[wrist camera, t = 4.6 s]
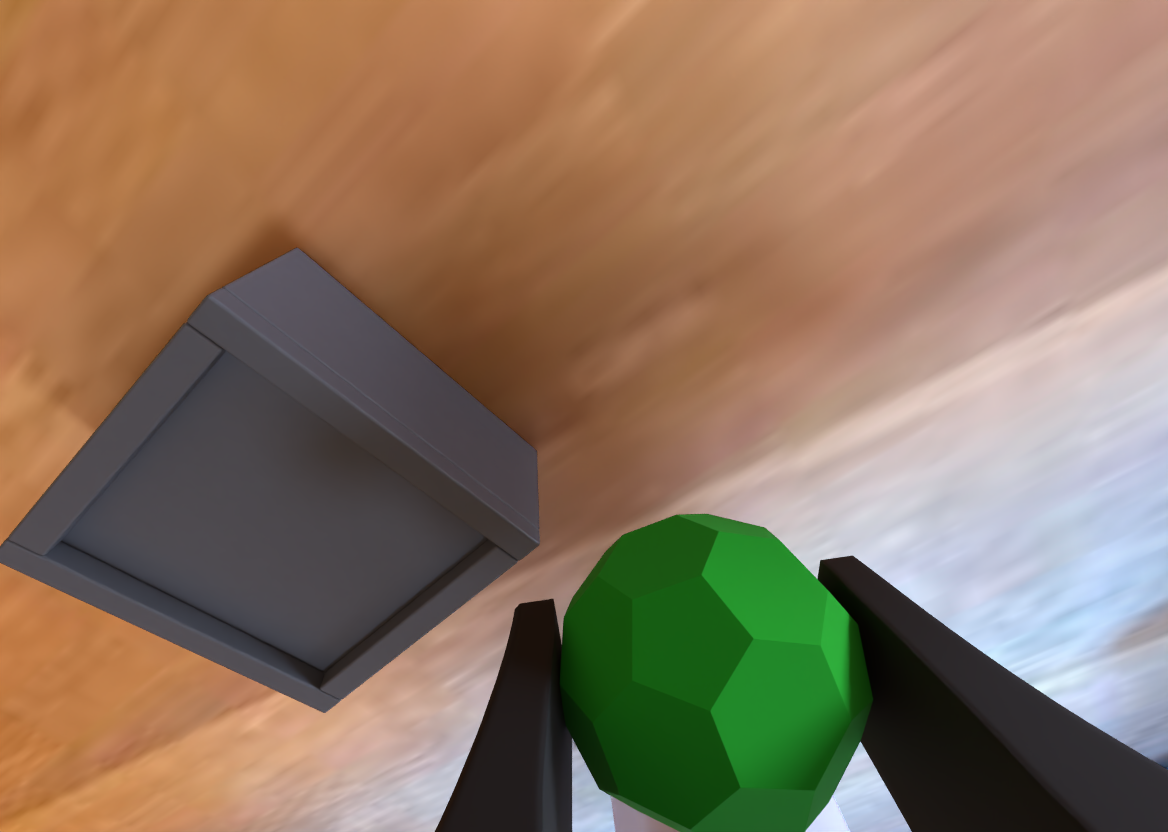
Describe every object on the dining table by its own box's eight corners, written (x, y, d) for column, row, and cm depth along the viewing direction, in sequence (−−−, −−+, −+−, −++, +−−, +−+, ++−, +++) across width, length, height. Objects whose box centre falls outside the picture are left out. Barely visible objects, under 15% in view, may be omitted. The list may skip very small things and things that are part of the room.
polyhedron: (541, 478, 10) (553, 732, 6) (799, 449, 10) (988, 673, 6) (564, 657, 12) (584, 928, 8) (773, 630, 13) (896, 880, 8)
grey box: (537, 450, 18) (541, 545, 14) (365, 596, 20) (324, 714, 16) (297, 246, 14) (207, 293, 10) (119, 453, 17) (-12, 558, 12)
